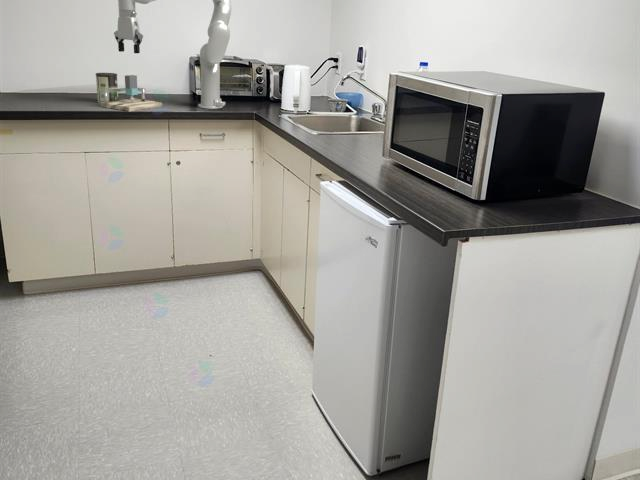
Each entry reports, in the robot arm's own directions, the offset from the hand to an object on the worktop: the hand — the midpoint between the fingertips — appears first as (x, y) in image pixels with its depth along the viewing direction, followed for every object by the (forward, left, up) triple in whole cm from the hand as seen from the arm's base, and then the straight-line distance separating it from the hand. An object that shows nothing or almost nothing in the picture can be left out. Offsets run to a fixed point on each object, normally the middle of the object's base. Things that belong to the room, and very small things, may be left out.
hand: (129, 52), depth 281 cm
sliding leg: (0, 0, -23) cm, 23 cm away
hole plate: (0, 0, -26) cm, 26 cm away
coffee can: (+18, -2, -26) cm, 32 cm away
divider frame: (+3, +1, -24) cm, 24 cm away
